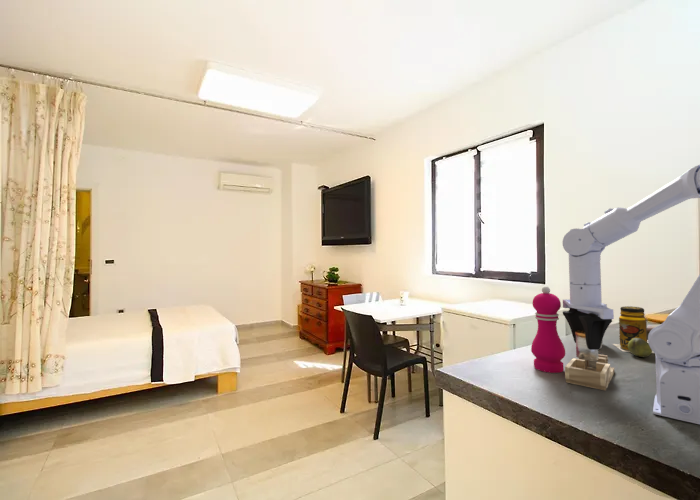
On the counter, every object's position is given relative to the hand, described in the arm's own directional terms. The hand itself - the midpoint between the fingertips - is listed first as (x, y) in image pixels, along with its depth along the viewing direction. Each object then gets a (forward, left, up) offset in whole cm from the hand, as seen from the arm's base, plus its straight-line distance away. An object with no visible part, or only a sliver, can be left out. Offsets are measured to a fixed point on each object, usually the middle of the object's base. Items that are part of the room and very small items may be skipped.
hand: (586, 346), depth 75 cm
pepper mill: (+4, +9, -8) cm, 12 cm away
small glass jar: (0, 0, -3) cm, 3 cm away
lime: (+28, -7, -8) cm, 30 cm away
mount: (+3, 0, -8) cm, 8 cm away
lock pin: (+10, 0, -6) cm, 12 cm away
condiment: (+36, -5, -8) cm, 38 cm away
